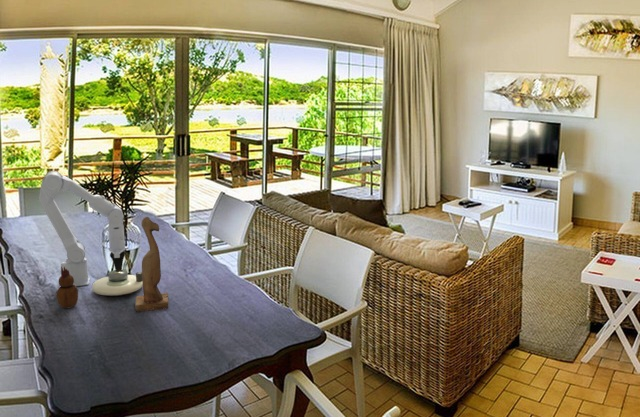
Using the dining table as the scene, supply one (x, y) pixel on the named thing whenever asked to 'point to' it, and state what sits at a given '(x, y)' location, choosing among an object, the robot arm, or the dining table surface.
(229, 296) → the dining table surface
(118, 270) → the cover
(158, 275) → the bird sculpture
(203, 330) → the dining table surface
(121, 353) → the dining table surface
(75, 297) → the wooden figurine
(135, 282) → the turntable
